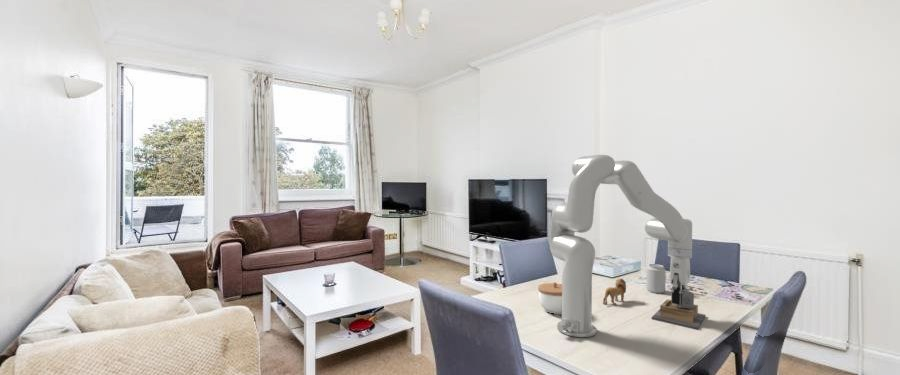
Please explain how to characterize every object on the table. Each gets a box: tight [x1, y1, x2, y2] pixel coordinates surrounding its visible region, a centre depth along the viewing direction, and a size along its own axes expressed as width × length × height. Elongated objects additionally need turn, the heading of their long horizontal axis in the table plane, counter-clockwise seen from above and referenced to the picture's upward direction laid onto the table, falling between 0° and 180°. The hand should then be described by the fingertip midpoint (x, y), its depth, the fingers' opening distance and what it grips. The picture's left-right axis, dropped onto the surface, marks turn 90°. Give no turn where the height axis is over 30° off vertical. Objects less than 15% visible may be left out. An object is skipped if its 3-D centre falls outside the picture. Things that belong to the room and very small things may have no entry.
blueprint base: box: [651, 299, 706, 330], centre depth 137 cm, size 16×14×5 cm
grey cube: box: [670, 289, 695, 308], centre depth 136 cm, size 5×5×5 cm
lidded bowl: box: [537, 281, 562, 315], centre depth 144 cm, size 13×13×11 cm
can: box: [645, 263, 666, 294], centre depth 169 cm, size 8×8×12 cm
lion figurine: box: [602, 277, 627, 306], centre depth 154 cm, size 15×5×9 cm, turn 132°
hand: (678, 301), depth 137 cm, fingers closed on grey cube, 5 cm apart
